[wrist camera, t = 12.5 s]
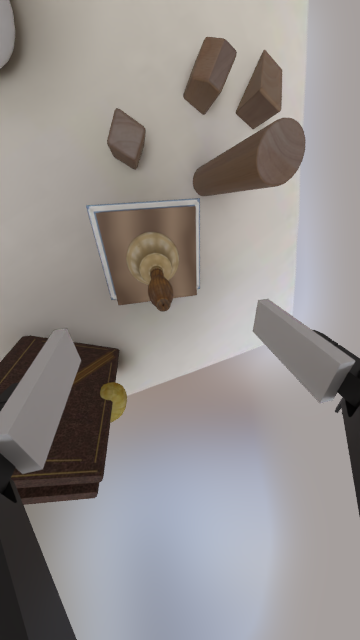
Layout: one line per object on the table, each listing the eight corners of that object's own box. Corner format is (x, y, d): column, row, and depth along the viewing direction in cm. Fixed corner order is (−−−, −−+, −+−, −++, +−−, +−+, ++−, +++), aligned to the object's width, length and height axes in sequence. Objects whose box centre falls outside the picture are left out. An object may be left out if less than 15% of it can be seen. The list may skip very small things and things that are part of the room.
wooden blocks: (281, 70, 26) (537, -172, 9) (208, 216, 34) (279, 227, 17) (171, -59, 20) (356, -1533, 3) (112, 156, 27) (72, 79, 11)
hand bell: (164, 292, 34) (182, 350, 20) (118, 271, 30) (102, 324, 17) (188, 248, 30) (228, 282, 17) (139, 220, 27) (142, 234, 14)
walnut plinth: (120, 294, 37) (118, 305, 33) (101, 212, 30) (95, 213, 26) (190, 285, 39) (196, 295, 35) (188, 206, 32) (195, 206, 28)
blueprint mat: (111, 298, 38) (111, 300, 38) (87, 205, 30) (85, 205, 29) (199, 287, 40) (199, 288, 40) (198, 198, 32) (199, 198, 31)
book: (21, 360, 41) (-100, 520, 20) (20, 327, 38) (-128, 483, 17) (124, 371, 49) (114, 499, 27) (132, 345, 45) (128, 469, 24)
